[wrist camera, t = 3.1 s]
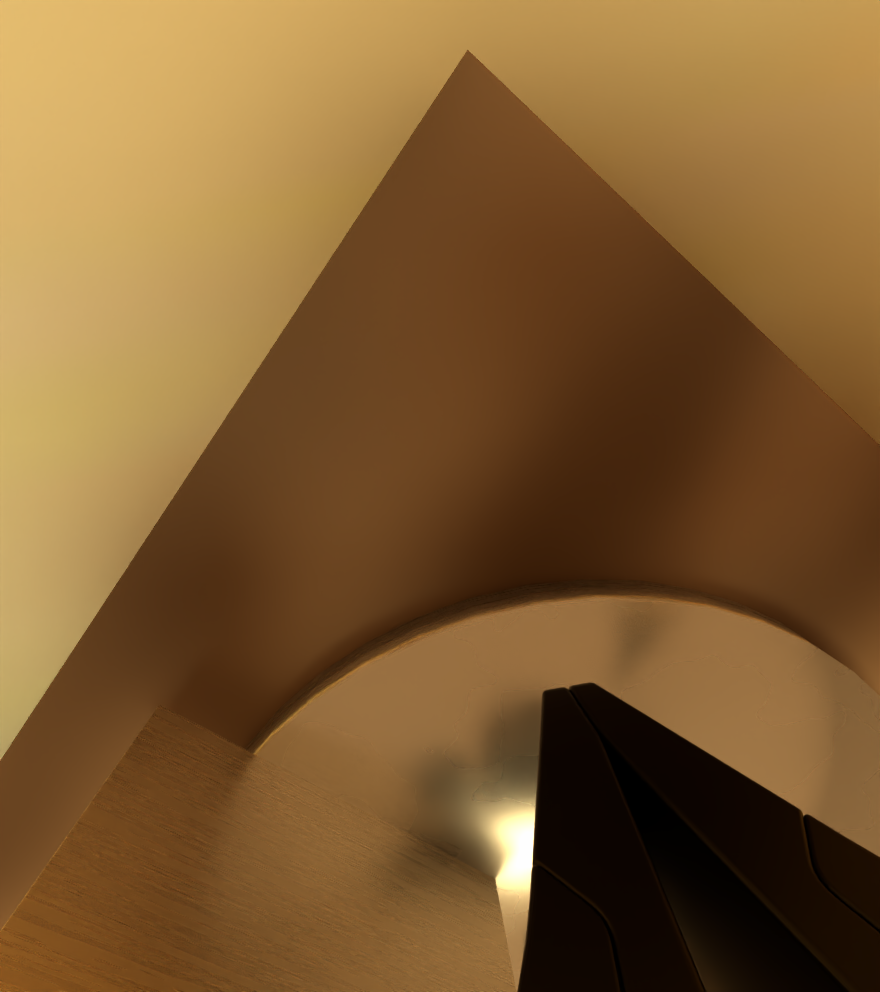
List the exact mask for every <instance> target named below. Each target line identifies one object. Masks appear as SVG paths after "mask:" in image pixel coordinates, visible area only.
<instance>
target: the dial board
mask: <svg viewBox="0 0 880 992" xmlns="http://www.w3.org/2000/svg"><path fill="white" fill-rule="evenodd" d="M582 579H583V580H637V581H644V582H650V583H657V584H664V585H670V586H677V587H684V588H690V589H693V590H696V591H700V592H703V593H707V594H710V595H714V596H717V597H720V598H724V599H727V600H731V601H734V602H737V603H739V604H741V605H744V606H746V607H748V608H750V609H752V610H755V611H757V612H759V613H761V614H763V615H766V616H768V617H770V618H772V619H774V620H776V621H779V622H780V623H782V624H783V625H785V626H786V627H788V628H789V629H791V630H792V631H794V632H795V633H797V634H798V635H800V636H801V637H803V638H804V639H806V640H807V641H809V642H810V643H812V644H813V645H815V646H816V647H818V648H819V649H821V650H822V651H824V652H825V653H827V654H828V655H830V656H831V657H833V658H834V659H836V660H837V661H839V662H840V663H841V664H843V665H844V666H846V667H847V668H849V669H850V670H852V671H853V672H855V673H856V674H857V675H858V676H859V677H860V678H861V679H862V680H863V681H864V682H865V683H866V684H867V685H868V686H869V687H871V688H872V689H873V690H874V691H875V692H876V693H877V694H878V695H879V696H880V445H879V444H877V443H876V442H875V441H874V440H873V439H872V438H871V437H870V436H869V435H868V434H867V433H866V432H865V431H864V430H863V429H862V428H861V427H860V426H859V425H858V424H857V423H856V422H855V421H854V420H853V419H851V418H850V417H849V416H848V415H847V414H846V413H845V412H844V411H843V410H842V409H841V408H840V407H839V406H838V405H837V404H836V403H835V402H834V401H833V400H832V399H831V398H830V397H829V396H828V395H826V394H825V393H824V392H823V391H822V390H821V389H820V388H819V387H818V386H817V385H816V384H815V383H814V382H813V381H812V380H811V379H810V378H809V377H808V376H807V375H806V374H805V373H804V372H803V371H802V370H800V369H799V368H798V367H797V366H796V365H795V364H794V363H793V362H792V361H791V360H790V359H789V358H788V357H787V356H786V355H785V354H784V353H783V352H782V351H781V350H780V349H779V348H778V347H777V346H775V345H774V344H773V343H772V342H771V341H770V340H769V339H768V338H767V337H766V336H765V335H764V334H763V333H762V332H761V331H760V330H759V329H758V328H757V327H756V326H755V325H754V324H753V323H752V322H750V321H749V320H748V319H747V318H746V317H745V316H744V315H743V314H742V313H741V312H740V311H739V310H738V309H737V308H736V307H735V306H734V305H733V304H732V303H731V302H730V301H729V300H728V299H727V298H726V297H724V296H723V295H722V294H721V293H720V292H719V291H718V290H717V289H716V288H715V287H714V286H713V285H712V284H711V283H710V282H709V281H708V280H707V279H706V278H705V277H704V276H703V275H702V274H701V273H699V272H698V271H697V270H696V269H695V268H694V267H693V266H692V265H691V264H690V263H689V262H688V261H687V260H686V259H685V258H684V257H683V256H682V255H681V254H680V253H679V252H678V251H677V250H676V249H675V248H673V247H672V246H671V245H670V244H669V243H668V242H667V241H666V240H665V239H664V238H663V237H662V236H661V235H660V234H659V233H658V232H657V231H656V230H655V229H654V228H653V227H652V226H651V225H650V224H648V223H647V222H646V221H645V220H644V219H643V218H642V217H641V216H640V215H639V214H638V213H637V212H636V211H635V210H634V209H633V208H632V207H631V206H630V205H629V204H628V203H627V202H626V201H625V200H623V199H622V198H621V197H620V196H619V195H618V194H617V193H616V192H615V191H614V190H613V189H612V188H611V187H610V186H609V185H608V184H607V183H606V182H605V181H604V180H603V179H602V178H601V177H600V176H599V175H597V174H596V173H595V172H594V171H593V170H592V169H591V168H590V167H589V166H588V165H587V164H586V163H585V162H584V161H583V160H582V159H581V158H580V157H579V156H578V155H577V154H576V153H575V152H574V151H572V150H571V149H570V148H569V147H568V146H567V145H566V144H565V143H564V142H563V141H562V140H561V139H560V138H559V137H558V136H557V135H556V134H555V133H554V132H553V131H552V130H551V129H550V128H549V127H548V126H546V125H545V124H544V123H543V122H542V121H541V120H540V119H539V118H538V117H537V116H536V115H535V114H534V113H533V112H532V111H531V110H530V109H529V108H528V107H527V106H526V105H525V104H524V103H523V102H521V101H520V100H519V99H518V98H517V97H516V96H515V95H514V94H513V93H512V92H511V91H510V90H509V89H508V88H507V87H506V86H505V85H504V84H503V83H502V82H501V81H500V80H499V79H498V78H497V77H495V76H494V75H493V74H492V73H491V72H490V71H489V70H488V69H487V68H486V67H485V66H484V65H483V64H482V63H481V62H480V61H479V60H478V59H477V58H476V57H475V56H474V55H473V54H472V53H470V52H469V51H468V50H467V52H466V53H465V55H464V56H463V58H462V59H461V61H460V62H459V64H458V65H457V67H456V69H455V70H454V72H453V73H452V75H451V76H450V78H449V79H448V81H447V82H446V84H445V85H444V87H443V88H442V90H441V91H440V93H439V94H438V96H437V97H436V99H435V100H434V102H433V104H432V105H431V107H430V108H429V110H428V111H427V113H426V114H425V116H424V117H423V119H422V120H421V122H420V123H419V125H418V126H417V128H416V129H415V131H414V132H413V134H412V135H411V137H410V139H409V140H408V142H407V143H406V145H405V146H404V148H403V149H402V151H401V152H400V154H399V155H398V157H397V158H396V160H395V161H394V163H393V164H392V166H391V167H390V169H389V170H388V172H387V174H386V175H385V177H384V178H383V180H382V181H381V183H380V184H379V186H378V187H377V189H376V190H375V192H374V193H373V195H372V196H371V198H370V199H369V201H368V202H367V204H366V205H365V207H364V208H363V210H362V212H361V213H360V215H359V216H358V218H357V219H356V221H355V222H354V224H353V225H352V227H351V228H350V230H349V231H348V233H347V234H346V236H345V237H344V239H343V240H342V242H341V243H340V245H339V247H338V248H337V250H336V251H335V253H334V254H333V256H332V257H331V259H330V260H329V262H328V263H327V265H326V266H325V268H324V269H323V271H322V272H321V274H320V275H319V277H318V278H317V280H316V282H315V283H314V285H313V286H312V288H311V289H310V291H309V292H308V294H307V295H306V297H305V298H304V300H303V301H302V303H301V304H300V306H299V307H298V309H297V310H296V312H295V313H294V315H293V317H292V318H291V320H290V321H289V323H288V324H287V326H286V327H285V329H284V330H283V332H282V333H281V335H280V336H279V338H278V339H277V341H276V342H275V344H274V345H273V347H272V348H271V350H270V352H269V353H268V355H267V356H266V358H265V359H264V361H263V362H262V364H261V365H260V367H259V368H258V370H257V371H256V373H255V374H254V376H253V377H252V379H251V380H250V382H249V383H248V385H247V386H246V388H245V390H244V391H243V393H242V394H241V396H240V397H239V399H238V400H237V402H236V403H235V405H234V406H233V408H232V409H231V411H230V412H229V414H228V415H227V417H226V418H225V420H224V421H223V423H222V425H221V426H220V428H219V429H218V431H217V432H216V434H215V435H214V437H213V438H212V440H211V441H210V443H209V444H208V446H207V447H206V449H205V450H204V452H203V453H202V455H201V456H200V458H199V460H198V461H197V463H196V464H195V466H194V467H193V469H192V470H191V472H190V473H189V475H188V476H187V478H186V479H185V481H184V482H183V484H182V485H181V487H180V488H179V490H178V491H177V493H176V495H175V496H174V498H173V499H172V501H171V502H170V504H169V505H168V507H167V508H166V510H165V511H164V513H163V514H162V516H161V517H160V519H159V520H158V522H157V523H156V525H155V526H154V528H153V530H152V531H151V533H150V534H149V536H148V537H147V539H146V540H145V542H144V543H143V545H142V546H141V548H140V549H139V551H138V552H137V554H136V555H135V557H134V558H133V560H132V561H131V563H130V564H129V566H128V568H127V569H126V571H125V572H124V574H123V575H122V577H121V578H120V580H119V581H118V583H117V584H116V586H115V587H114V589H113V590H112V592H111V593H110V595H109V596H108V598H107V599H106V601H105V603H104V604H103V606H102V607H101V609H100V610H99V612H98V613H97V615H96V616H95V618H94V619H93V621H92V622H91V624H90V625H89V627H88V628H87V630H86V631H85V633H84V634H83V636H82V638H81V639H80V641H79V642H78V644H77V645H76V647H75V648H74V650H73V651H72V653H71V654H70V656H69V657H68V659H67V660H66V662H65V663H64V665H63V666H62V668H61V669H60V671H59V673H58V674H57V676H56V677H55V679H54V680H53V682H52V683H51V685H50V686H49V688H48V689H47V691H46V692H45V694H44V695H43V697H42V698H41V700H40V701H39V703H38V704H37V706H36V708H35V709H34V711H33V712H32V714H31V715H30V717H29V718H28V720H27V721H26V723H25V724H24V726H23V727H22V729H21V730H20V732H19V733H18V735H17V736H16V738H15V739H14V741H13V743H12V744H11V746H10V747H9V749H8V750H7V752H6V753H5V755H4V756H3V758H2V759H1V761H0V931H1V929H2V928H3V926H4V925H5V924H6V922H7V921H8V919H9V918H10V916H11V915H12V914H13V912H14V911H15V909H16V908H17V906H18V905H19V904H20V902H21V901H22V899H23V898H24V896H25V895H26V894H27V892H28V891H29V889H30V888H31V886H32V885H33V884H34V882H35V881H36V879H37V878H38V877H39V875H40V874H41V872H42V871H43V869H44V868H45V867H46V865H47V864H48V862H49V861H50V859H51V858H52V857H53V855H54V854H55V852H56V851H57V849H58V848H59V847H60V845H61V844H62V842H63V841H64V839H65V838H66V837H67V835H68V834H69V832H70V831H71V829H72V828H73V827H74V825H75V824H76V822H77V821H78V819H79V818H80V817H81V815H82V814H83V812H84V811H85V809H86V808H87V807H88V805H89V804H90V802H91V801H92V799H93V798H94V797H95V795H96V794H97V792H98V791H99V789H100V788H101V787H102V785H103V784H104V782H105V781H106V779H107V778H108V777H109V775H110V774H111V772H112V771H113V769H114V768H115V767H116V765H117V764H118V762H119V761H120V760H121V758H122V757H123V755H124V754H125V752H126V751H127V750H128V748H129V747H130V745H131V744H132V743H133V741H134V740H135V738H136V737H137V736H138V734H139V733H140V731H141V730H142V729H143V727H144V726H145V724H146V723H147V722H148V720H149V719H150V717H151V716H152V714H153V713H154V712H155V710H156V709H157V707H158V706H159V705H161V706H163V707H165V708H167V709H169V710H171V711H173V712H175V713H177V714H178V715H180V716H182V717H184V718H186V719H188V720H190V721H192V722H194V723H196V724H198V725H200V726H202V727H203V728H205V729H207V730H209V731H211V732H213V733H215V734H217V735H219V736H221V737H223V738H225V739H227V740H228V741H230V742H232V743H234V744H236V745H238V746H240V747H242V748H244V749H245V748H246V746H247V745H248V744H249V743H250V742H251V741H252V739H253V738H254V737H255V736H256V735H257V734H258V733H259V731H260V730H261V729H262V728H263V727H264V726H265V725H266V724H267V722H268V721H269V720H270V719H271V718H272V717H273V716H274V714H275V713H276V712H277V711H278V710H279V709H280V708H281V707H282V706H283V705H284V704H285V703H286V702H288V701H289V700H290V699H291V698H292V697H293V696H295V695H296V694H297V693H298V692H299V691H300V690H301V689H303V688H304V687H305V686H306V685H307V684H308V683H310V682H311V681H312V680H313V679H314V678H315V677H316V676H318V675H319V674H320V673H321V672H323V671H324V670H326V669H327V668H329V667H330V666H332V665H333V664H335V663H336V662H338V661H339V660H341V659H342V658H344V657H345V656H347V655H348V654H350V653H351V652H353V651H354V650H356V649H357V648H359V647H360V646H362V645H363V644H365V643H367V642H369V641H371V640H373V639H375V638H377V637H379V636H381V635H383V634H385V633H387V632H389V631H391V630H393V629H395V628H397V627H399V626H401V625H403V624H405V623H407V622H409V621H411V620H413V619H415V618H417V617H419V616H422V615H425V614H428V613H430V612H433V611H436V610H439V609H442V608H444V607H447V606H450V605H453V604H456V603H458V602H461V601H464V600H467V599H470V598H473V597H478V596H482V595H486V594H491V593H495V592H500V591H504V590H508V589H513V588H517V587H521V586H526V585H535V584H544V583H554V582H563V581H573V580H582Z"/></svg>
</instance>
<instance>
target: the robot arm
mask: <svg viewBox="0 0 880 992" xmlns="http://www.w3.org/2000/svg"><path fill="white" fill-rule="evenodd" d="M517 992H880V857H879V856H877V855H876V854H874V853H872V852H871V851H869V850H867V849H866V848H864V847H862V846H860V845H859V844H857V843H855V842H854V841H852V840H850V839H849V838H847V837H845V836H843V835H842V834H840V833H838V832H837V831H835V830H834V829H832V828H830V827H829V826H827V825H825V824H824V823H822V822H821V821H819V820H817V819H816V818H814V817H812V816H811V815H809V814H805V815H804V816H803V812H802V811H801V810H800V809H799V808H797V807H796V806H794V805H792V804H791V803H789V802H788V801H786V800H784V799H783V798H781V797H779V796H778V795H776V794H775V793H773V792H771V791H770V790H768V789H766V788H765V787H763V786H761V785H760V784H758V783H757V782H755V781H753V780H752V779H750V778H748V777H747V776H745V775H744V774H742V773H740V772H739V771H737V770H735V769H734V768H732V767H731V766H729V765H727V764H726V763H724V762H722V761H721V760H719V759H718V758H716V757H714V756H713V755H711V754H709V753H708V752H706V751H704V750H703V749H701V748H700V747H698V746H696V745H695V744H693V743H691V742H690V741H688V740H687V739H685V738H683V737H682V736H680V735H678V734H677V733H675V732H674V731H672V730H670V729H669V728H667V727H665V726H664V725H662V724H660V723H659V722H657V721H656V720H654V719H652V718H651V717H649V716H647V715H646V714H644V713H643V712H641V711H639V710H638V709H636V708H634V707H633V706H631V705H630V704H628V703H626V702H625V701H623V700H621V699H620V698H618V697H616V696H615V695H613V694H612V693H610V692H608V691H607V690H605V689H603V688H602V687H600V686H599V685H597V684H595V683H592V682H588V683H582V684H577V685H571V686H570V687H569V688H566V687H559V688H554V689H548V690H544V691H543V693H542V702H541V719H540V736H539V753H538V770H537V787H536V804H535V821H534V838H533V855H532V869H531V883H530V900H529V910H528V920H527V931H526V941H525V947H524V953H523V959H522V965H521V971H520V978H519V984H518V990H517Z"/></svg>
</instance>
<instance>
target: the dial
mask: <svg viewBox="0 0 880 992" xmlns="http://www.w3.org/2000/svg"><path fill="white" fill-rule="evenodd" d="M588 682H592V683H595V684H597V685H599V686H600V687H602V688H603V689H605V690H607V691H608V692H610V693H612V694H613V695H615V696H616V697H618V698H620V699H621V700H623V701H625V702H626V703H628V704H630V705H631V706H633V707H634V708H636V709H638V710H639V711H641V712H643V713H644V714H646V715H647V716H649V717H651V718H652V719H654V720H656V721H657V722H659V723H660V724H662V725H664V726H665V727H667V728H669V729H670V730H672V731H674V732H675V733H677V734H678V735H680V736H682V737H683V738H685V739H687V740H688V741H690V742H691V743H693V744H695V745H696V746H698V747H700V748H701V749H703V750H704V751H706V752H708V753H709V754H711V755H713V756H714V757H716V758H718V759H719V760H721V761H722V762H724V763H726V764H727V765H729V766H731V767H732V768H734V769H735V770H737V771H739V772H740V773H742V774H744V775H745V776H747V777H748V778H750V779H752V780H753V781H755V782H757V783H758V784H760V785H761V786H763V787H765V788H766V789H768V790H770V791H771V792H773V793H775V794H776V795H778V796H779V797H781V798H783V799H784V800H786V801H788V802H789V803H791V804H792V805H794V806H796V807H797V808H799V809H800V810H801V811H802V812H803V816H804V815H805V814H809V815H811V816H812V817H814V818H816V819H817V820H819V821H821V822H822V823H824V824H825V825H827V826H829V827H830V828H832V829H834V830H835V831H837V832H838V833H840V834H842V835H843V836H845V837H847V838H849V839H850V840H852V841H854V842H855V843H857V844H859V845H860V846H862V847H864V848H866V849H867V850H869V851H871V852H872V853H874V854H876V855H877V856H879V857H880V696H879V695H878V694H877V693H876V692H875V691H874V690H873V689H872V688H871V687H869V686H868V685H867V684H866V683H865V682H864V681H863V680H862V679H861V678H860V677H859V676H858V675H857V674H856V673H855V672H853V671H852V670H850V669H849V668H847V667H846V666H844V665H843V664H841V663H840V662H839V661H837V660H836V659H834V658H833V657H831V656H830V655H828V654H827V653H825V652H824V651H822V650H821V649H819V648H818V647H816V646H815V645H813V644H812V643H810V642H809V641H807V640H806V639H804V638H803V637H801V636H800V635H798V634H797V633H795V632H794V631H792V630H791V629H789V628H788V627H786V626H785V625H783V624H782V623H780V622H779V621H776V620H774V619H772V618H770V617H768V616H766V615H763V614H761V613H759V612H757V611H755V610H752V609H750V608H748V607H746V606H744V605H741V604H739V603H737V602H734V601H731V600H727V599H724V598H720V597H717V596H714V595H710V594H707V593H703V592H700V591H696V590H693V589H690V588H684V587H677V586H670V585H664V584H657V583H650V582H644V581H637V580H583V579H582V580H573V581H563V582H554V583H544V584H535V585H526V586H521V587H517V588H513V589H508V590H504V591H500V592H495V593H491V594H486V595H482V596H478V597H473V598H470V599H467V600H464V601H461V602H458V603H456V604H453V605H450V606H447V607H444V608H442V609H439V610H436V611H433V612H430V613H428V614H425V615H422V616H419V617H417V618H415V619H413V620H411V621H409V622H407V623H405V624H403V625H401V626H399V627H397V628H395V629H393V630H391V631H389V632H387V633H385V634H383V635H381V636H379V637H377V638H375V639H373V640H371V641H369V642H367V643H365V644H363V645H362V646H360V647H359V648H357V649H356V650H354V651H353V652H351V653H350V654H348V655H347V656H345V657H344V658H342V659H341V660H339V661H338V662H336V663H335V664H333V665H332V666H330V667H329V668H327V669H326V670H324V671H323V672H321V673H320V674H319V675H318V676H316V677H315V678H314V679H313V680H312V681H311V682H310V683H308V684H307V685H306V686H305V687H304V688H303V689H301V690H300V691H299V692H298V693H297V694H296V695H295V696H293V697H292V698H291V699H290V700H289V701H288V702H286V703H285V704H284V705H283V706H282V707H281V708H280V709H279V710H278V711H277V712H276V713H275V714H274V716H273V717H272V718H271V719H270V720H269V721H268V722H267V724H266V725H265V726H264V727H263V728H262V729H261V730H260V731H259V733H258V734H257V735H256V736H255V737H254V738H253V739H252V741H251V742H250V743H249V744H248V745H247V746H246V748H245V749H244V748H242V747H240V746H238V745H236V744H234V743H232V742H230V741H228V740H227V739H225V738H223V737H221V736H219V735H217V734H215V733H213V732H211V731H209V730H207V729H205V728H203V727H202V726H200V725H198V724H196V723H194V722H192V721H190V720H188V719H186V718H184V717H182V716H180V715H178V714H177V713H175V712H173V711H171V710H169V709H167V708H165V707H163V706H161V705H159V706H158V707H157V709H156V710H155V712H154V713H153V714H152V716H151V717H150V719H149V720H148V722H147V723H146V724H145V726H144V727H143V729H142V730H141V731H140V733H139V734H138V736H137V737H136V738H135V740H134V741H133V743H132V744H131V745H130V747H129V748H128V750H127V751H126V752H125V754H124V755H123V757H122V758H121V760H120V761H119V762H118V764H117V765H116V767H115V768H114V769H113V771H112V772H111V774H110V775H109V777H108V778H107V779H106V781H105V782H104V784H103V785H102V787H101V788H100V789H99V791H98V792H97V794H96V795H95V797H94V798H93V799H92V801H91V802H90V804H89V805H88V807H87V808H86V809H85V811H84V812H83V814H82V815H81V817H80V818H79V819H78V821H77V822H76V824H75V825H74V827H73V828H72V829H71V831H70V832H69V834H68V835H67V837H66V838H65V839H64V841H63V842H62V844H61V845H60V847H59V848H58V849H57V851H56V852H55V854H54V855H53V857H52V858H51V859H50V861H49V862H48V864H47V865H46V867H45V868H44V869H43V871H42V872H41V874H40V875H39V877H38V878H37V879H36V881H35V882H34V884H33V885H32V886H31V888H30V889H29V891H28V892H27V894H26V895H25V896H24V898H23V899H22V901H21V902H20V904H19V905H18V906H17V908H16V909H15V911H14V912H13V914H12V915H11V916H10V918H9V919H8V921H7V922H6V924H5V925H4V926H3V928H2V929H1V931H0V992H517V990H518V984H519V978H520V971H521V965H522V959H523V953H524V947H525V941H526V931H527V920H528V910H529V900H530V883H531V869H532V855H533V838H534V821H535V804H536V787H537V770H538V753H539V736H540V719H541V702H542V693H543V691H544V690H548V689H554V688H559V687H566V688H569V687H570V686H571V685H577V684H582V683H588Z"/></svg>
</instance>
